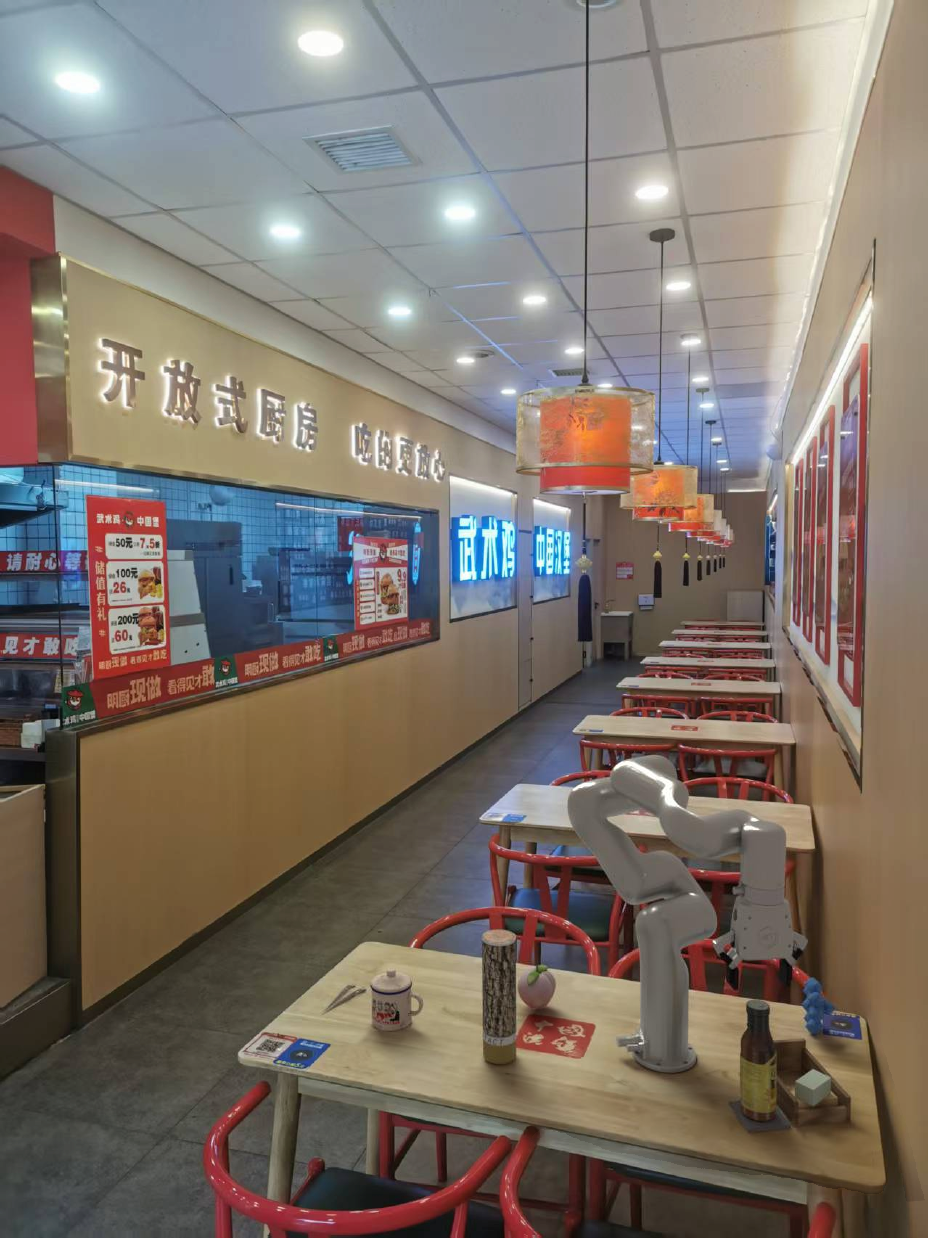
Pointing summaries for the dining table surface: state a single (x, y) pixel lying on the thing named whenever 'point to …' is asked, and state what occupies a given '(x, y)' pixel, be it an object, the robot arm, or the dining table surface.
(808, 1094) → the offcut top
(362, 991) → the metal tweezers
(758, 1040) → the sauce bottle
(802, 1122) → the wooden tray
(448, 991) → the dining table surface
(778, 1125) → the mat
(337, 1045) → the dining table surface
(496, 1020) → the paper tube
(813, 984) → the grapes
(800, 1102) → the plate
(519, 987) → the decorative fruit
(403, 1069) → the dining table surface
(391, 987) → the teacup with lid
